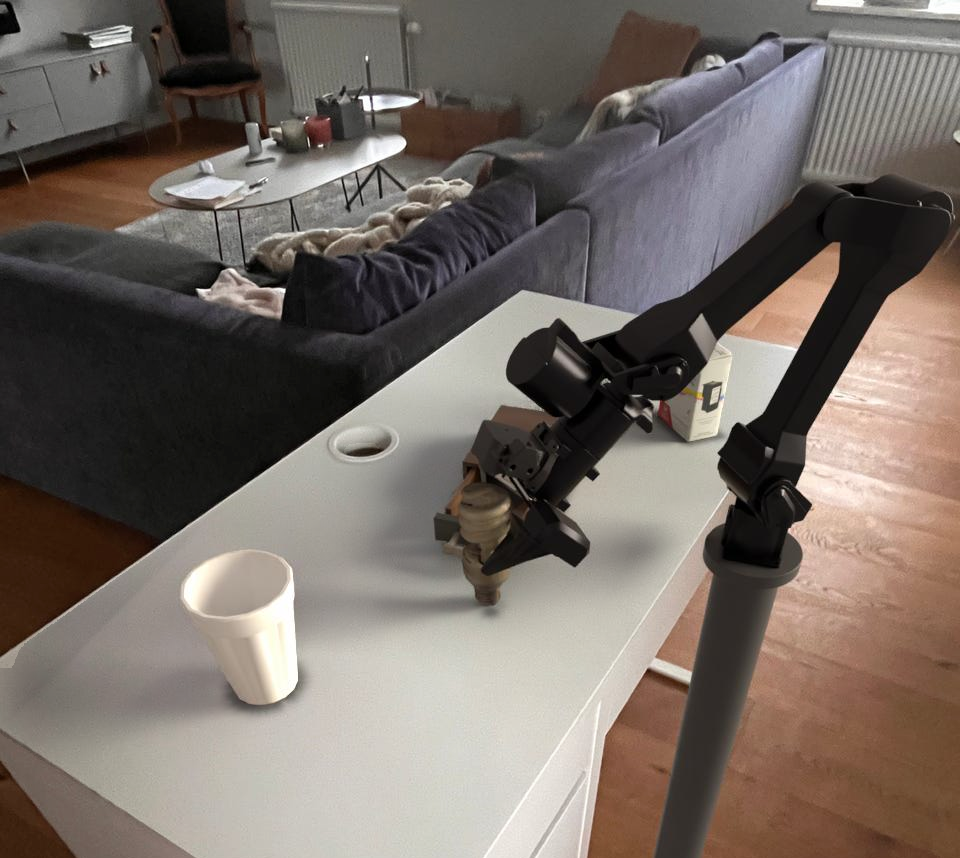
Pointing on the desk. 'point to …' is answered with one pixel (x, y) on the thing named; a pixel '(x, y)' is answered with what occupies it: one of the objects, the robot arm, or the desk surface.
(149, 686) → the desk surface
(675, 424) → the ink box
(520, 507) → the drawer
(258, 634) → the cup
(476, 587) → the light bulb
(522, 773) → the desk surface
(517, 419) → the cabinet
